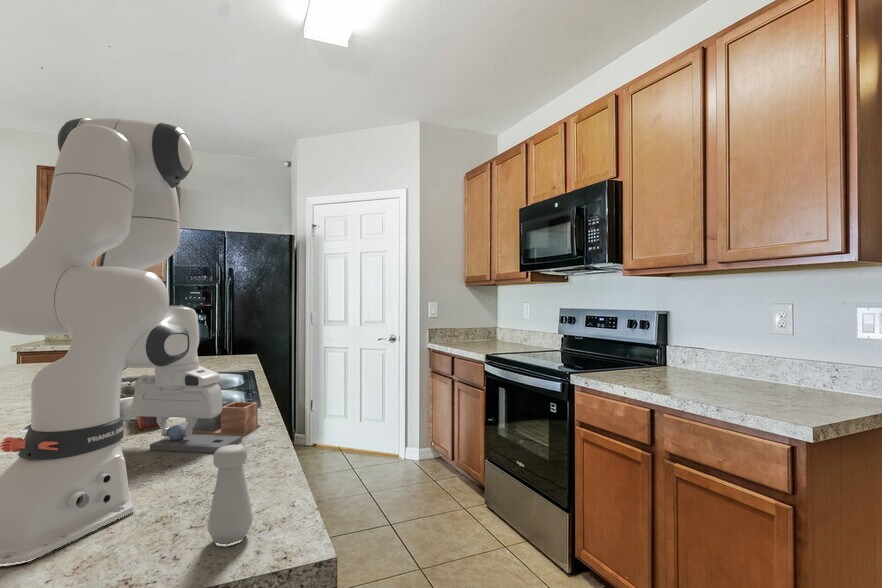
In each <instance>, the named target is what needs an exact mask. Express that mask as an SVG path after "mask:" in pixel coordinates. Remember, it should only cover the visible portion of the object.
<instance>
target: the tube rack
mask: <svg viewBox="0 0 882 588" xmlns="http://www.w3.org/2000/svg"><path fill="white" fill-rule="evenodd" d="M258 409H259V408H258V401H256V402H254V401H253V402H252V401H250V402H249V401H234V402H232V403H229V401H223V400H222V412H221V413H220V414H219V415H218V416H216V417H214V418H211V419H205V418H197V422H196V423H195V425H194V427H193V433H192V434H198V435H224V436H242V437H244V436H247V435H248V434H250V433H252V432H253V431H255V430H257V429H259V428H260V426H261V425H260V424H258V422H259V419H258V417H259V416H258V415H259V414H258V413H259V411H258ZM258 427H259V428H258ZM251 431H252V432H251Z"/></svg>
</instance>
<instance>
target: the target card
mask: <svg viewBox="0 0 882 588" xmlns="http://www.w3.org/2000/svg"><path fill="white" fill-rule="evenodd" d="M187 424H188V422H182V423H179V425H183V426H184V427H185V428H186V426H187Z"/></svg>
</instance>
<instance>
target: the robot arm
mask: <svg viewBox="0 0 882 588" xmlns="http://www.w3.org/2000/svg"><path fill="white" fill-rule="evenodd" d="M191 143H192V142H191V140H190V138H189V136H188V135H187V134H186V133H185V131H184V130H183V129H182V128H180V127H178V126H176V125H173V124H169V123H164V122H159V123H155V122H148V121H142V120H134V119H132V120H131V119H127V118H113V117H112V118H95V119H94V118H93V119H92V118H88V117H80V118H75V119H70V120H68V121H66V122H65V123H64V124H63V125H62V126H61V128H60V129H59V131H58V134H57V147H58V151H59V154H58V158H57V161H56V164H55V167H54V171H53V176H52V182H51V187H50V192H49V198H48V202H47V206H46V210H45V213H44V216H43V220H42V222H41V224H40V227H39V229H38V231H37V232H36V234H35V236H34V237H33V238H32V240H30V242H29V243H28V244H27V246H26V247H25V248H24V249H23V250H22V251H21V252H20V253H19V254H18V255H17V256H16V257H14V259H12V260H11V261H9V262H8V263H7V264H5V265H3V266H2V267H0V332H6V333H11V334H17V335H24V336H71V342H70V346H69V348H68V351H67V352H66V353H65V355H64V356H63V357H62V358H59V359H58V360H55V361H53V362H51V363H49V364H47V365H45V367H42V368H41V369H40V370H39V371H38V372H37V373H36V375H35V376H34V377H33V380H32V381H31V385H30V386H31V389H30V391H31V392H30V393H31V394H30V396H31V398H30V399H31V401H30V402H31V403H30V405H31V406H30V407H31V410H30V411H31V412H30V413H31V416H30V417H31V418H30V421H31V422H30V427H29V428H28V429H27V432H25V433H26V434H25V435H24V438H22V437H12V436H11V437H10V436H9V437H5V438H4V439H2V441H1V442H0V450H1V451H2V452H5V453H7V452H8V453H9V452H10V453H11V452H12V453H17V452H18V454H17V456H18V458H17V459H16V460H15V461H14V462H13V463H12V464H11V465H10V466H8V468H7V469H6V470H5V471H4V472H3V473H2V474H0V564H6V563H15V562H22V561H28V560H31V559H34V558H37V557H38V556H41V555H43V554H46V553H48V552H50V551H52V550H54V549H57V548H59V547H61V546H63V545H65V544H67V543H69V542H71V541H73V540H75V539H77V538H79V537H81V536H83V535H85V534H88V533H89V532H92V531H93V530H96V529H98V528H100V527H102V526H105V525H107V524H109V523H111V522H113V521H115V520H117V519H119V520H121V519H123V518H125V517H127V516H129V515H131V514H133V513H134V512H135V506H134V505H135V504H134V503H133V496H132V493H131V491H130V488H129V481H128V480H129V479H128V473H127V472H128V471H127V466H126V460H125V456H124V453H123V450H122V442H121V441H122V439H123V438H124V429H125V425H124V416H123V415H121V394H122V393H121V392H122V391H121V390H122V381H123V380H122V379H123V373H124V369H126V368H127V369H128V368H129V369H142V368H143V369H144V368H147V369H148V368H149V369H151V368H153V369H154V375H153V374H152V375H148V374H142V375H141V376H140V377H138V378H137V379H136V380H135V384H134V387H135V389H134V393H133V398H132V406H131V408H132V409H131V412H132V414H133V415H134V416H135V417H136V416H147V417H157V423H158V425H159V426H160V430H161V431H160V433H161V437H168V431H169V429H170V428H171V427H172V426H170V424H169V422H168V420H169V419H170V418H175V419H176V418H177V419H181V418H183V419H185V423H188V424H187V426H186V428H185V429H182V437H190V436H192V433H193V427H194V425H195V423H196V422H197V418H205V419H211V418H214V417H216V416H218V415H219V414H220V413H221V412H222V401H223V395H222V394H223V393H222V388H221V386H220V385H219V384H218V382H220V379H221V375H220V373H219V372H216V371H214V370H211V369H208V368H205V367H204V366H201V365H200V360H199V356H198V348H199V344H200V327H199V319H198V316H197V312H196V310H195V309H193V308H192V307H189V306H185V305H176V304H174V305H173V304H170V296H169V291H168V289H167V286H166V285H165V283H164V281H163V280H162V279H161V278H160V276H159V275H158V274H156V273H155V272H152V271H147V270H146V269H149V268H151V267H154V266H156V265H159V264H161V263H163V262H165V261H166V260H168V259H169V258H170V257H171V256H172V255H173V254H174V253H175V252H176V251H177V250H178V247H179V244H180V237H181V233H180V232H181V220H180V219H181V218H180V217H181V215H180V214H181V213H180V206H179V205H180V204H179V198H178V192H177V187H178V186H179V185H180V183H181V181H183V180H184V179H186V177H187V176H188V175H189V173H190V172H191V171H192V169H193V168H192V167H193V165H194V164H193V161H194V152H193V146H192V144H191ZM99 257H101V258H100V262H99V265H98V266H97V265H96V266H93V264H94V262H95V261H97V259H98V258H99ZM133 511H134V512H133ZM132 512H133V513H132ZM130 513H131V514H130ZM128 514H129V515H128ZM126 515H127V516H126ZM124 516H125V517H124ZM122 517H123V518H122ZM120 518H121V519H120ZM117 521H118V520H117ZM115 522H116V521H115ZM113 523H114V522H113ZM111 524H112V523H111ZM109 525H110V524H109ZM107 526H108V525H107ZM105 527H106V526H105ZM102 528H103V527H102ZM100 529H101V528H100ZM98 530H99V529H98ZM96 531H97V530H96ZM92 533H93V532H92ZM88 535H89V534H88ZM77 540H78V539H77ZM75 541H76V540H75ZM73 542H74V541H73ZM71 543H72V542H71ZM69 544H70V543H69ZM67 545H68V544H67ZM65 546H66V545H65ZM63 547H64V546H63ZM61 548H62V547H61ZM59 549H60V548H59ZM57 550H58V549H57ZM50 553H51V552H50ZM48 554H49V553H48ZM46 555H47V554H46Z"/></svg>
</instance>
